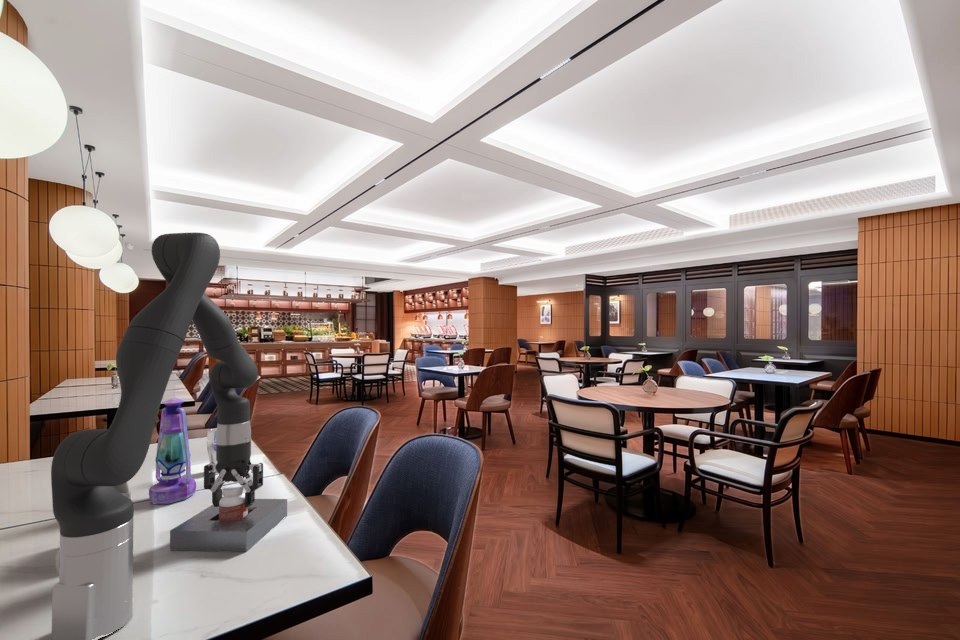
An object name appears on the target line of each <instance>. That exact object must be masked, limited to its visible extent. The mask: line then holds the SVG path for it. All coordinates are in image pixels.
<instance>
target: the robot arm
mask: <svg viewBox="0 0 960 640" xmlns="http://www.w3.org/2000/svg"><path fill="white" fill-rule="evenodd" d="M151 256H152V260H153V262H154V264H155V266H156V268H157V269H158V271H159V272H160V274H161V276H162V277H163V278H164V280H165V282H166V284H167V286H166V287H165V289H163V291H161V292H160V293H159V294H158V295H157V296H156V297H154V298H153V299H152V300H151V301H150V302H149V303H148V304H146V306H144V307H143V308H142V309H141V310H140V311H139V312H138V313H137V314H136V315H135V316H134V317H133V318H132V319H131V321H130V323H129V324H128V326H127V328H126V330H125V332H124V334H123V336H122V339H121V341H120V343H119V345H118V348H117V350H116V355H115V365H116V371H117V376H118V380H119V384H120V386H119V387H120V392H121V393H120V401H119V404H118V407H117V410H116V412H115V416H114V418H113V420H112V422H111V424H110V426H109V427H108V428H89V429H88V428H87V429H81V430H77V431H75V432H73V433H71V434H69V435H68V436H66V437H65V438H64V439H63V440H62V441H61V442H60V443H59V444H58V446H57V448H56V449H55V451H54V454H53V458H52V461H51V466H50V467H51V468H50V478H51V479H50V481H51V482H50V483H51V496H52V497H51V500H52V514H53V516H54V518H55V520H56V521H57V523H58V525H59V559H58V560H59V566H58V568H59V569H58V573H59V574H58V583H56V584H54V585H53V586H52V588H51V590H52V591H51V640H92V639H95V638H96V637H98V636H101V635H106V634H109V633H111V632H114V631H116V630H117V631H119V630H120V629H122V628H123V627H124V626H126V624H127V623H128V622H130V620H131V619H132V618H133V612H134V611H133V609H134V608H133V606H134V605H133V604H134V603H133V597H134V595H133V594H134V593H133V591H134V588H133V587H134V586H133V584H134V514H135V513H134V509H135V508H134V502H133V500H132V498H131V499H129V498H128V497H126V496H124V495H122V494H121V493H120V492H118V491H117V490H116V489H115V487H114V486H118V485H122V484H124V483H126V482H128V483H129V481H131V480H132V479H133V478H134V477H135V476H136V475H137V473H138V472H139V471H140V469H141V468H142V467H143V464H144V463H145V461H146V457H147V456H148V455H147V454H148V453H149V448H150V445H151V441H152V437H153V434H154V430H155V425H156V422H157V418H158V415H159V410H160V408H161V404H162V400H163V398H164V396H165V395H164V394H165V392H166V389H167V386H168V383H169V380H170V378H171V375H172V372H173V370H174V368H175V365H176V363H177V361H178V359H179V356H180V353H181V351H182V348H183V345H184V343H185V340H186V336H187V334H188V331H189V329H190V326H191V323H193V325H194V327H195V329H196V330H197V333H198V335H199V337H200V340H201V342H202V345H203V347H204V350H205V351H206V354H207V355H208V356H209V357H210V358H212V359H215V360H218V361H217V362H215V363H214V364H213V365H212V367H211V370H210V372H209V384H210V386H211V389H212V390H211V391H212V394H213V398H214V400H215V403H216V406H217V407H216V408H217V426H216V428H217V431H216V460H217V461H218V462H217V464H215V463H214V462H212V463H210V462H209V463H208V464H205V465H204V467H203V489H204V490H209V491H210V492H211V496H212V497H211V503H212V505H213V504H214V507H218V506H219V501H220V499H221V498H222V497H223V486H224V485H225V484H226V483H230V482H233V483H238V484H240V485H241V486H243V487H244V489H245V490H244V491H245V492H244V493H245V507H250V506H251V505H252V504H253V503H254V501H255V499H256V491H257V490H258V489H260V488H261V487H263V485H264V463H263V462H259V463H252V462H251V456H252V426H251V403H250V399H248V398H246V397H244V396H240V395H239V394H238V393H237V391H236V389H248V388H251V387H253V385H254V384H256V382H257V379H258V376H259V373H258V372H259V371H258V366H257V364H256V362H255V360H253V358H252V357H251V355H250V354H249V353H248V351H247V350H246V348H245V347H243V346H242V344H241V342H239V341H240V340H239V339H238V337H237V333H236V331H235V328H234V325H233V324H232V322H231V319H230V317H228V315H227V314H226V313H225V312H224V310H223V309H222V308H221V307H220V306H218V305H217V304H216V303H215V302H214V301H213V300H212V298H210V297H209V296H208V294H206V290H207V288H208V286H209V284H210V283H211V281H212V280H213V277H214V275H215V274H216V271H217V269H218V267H219V264H220V259H221V249H220V246H219V243H218V242H217V240H216V239H215V238H214V236H212V235H211V234H207V233H204V232H174V233H164V234H161V235H159V236H157V237H156V238H155V239H154V240H153V242H152V245H151ZM216 470H217V472H218V473H219V474H218V476H217V478H216V474H215V471H216ZM250 471H251V472H250ZM121 627H122V628H121ZM118 629H119V630H118ZM117 631H116V632H117ZM114 633H115V632H114Z"/></svg>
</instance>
